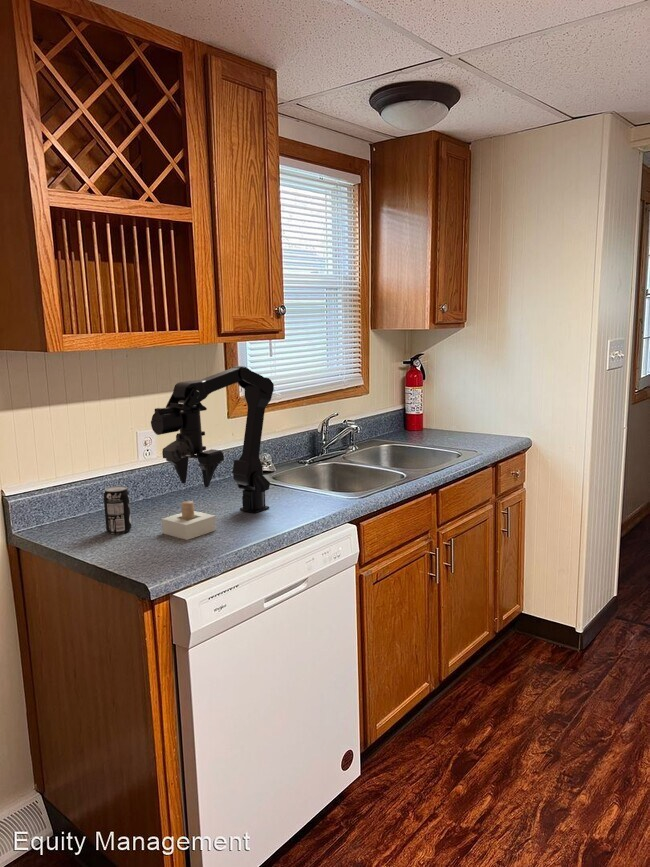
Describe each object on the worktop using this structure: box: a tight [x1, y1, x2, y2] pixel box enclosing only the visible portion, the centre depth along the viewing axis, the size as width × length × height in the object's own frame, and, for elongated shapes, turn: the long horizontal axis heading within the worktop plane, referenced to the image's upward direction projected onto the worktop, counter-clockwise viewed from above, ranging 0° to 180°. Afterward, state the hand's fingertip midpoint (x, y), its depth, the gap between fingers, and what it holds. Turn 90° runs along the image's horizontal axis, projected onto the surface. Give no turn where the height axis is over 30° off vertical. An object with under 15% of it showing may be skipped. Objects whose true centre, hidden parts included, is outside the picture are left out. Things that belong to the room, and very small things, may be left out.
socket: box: [161, 510, 217, 541], centre depth 179 cm, size 10×10×4 cm
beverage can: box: [103, 485, 133, 535], centre depth 180 cm, size 7×7×12 cm
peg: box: [180, 500, 195, 521], centre depth 178 cm, size 3×3×8 cm
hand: (194, 485), depth 182 cm, fingers open, 9 cm apart
